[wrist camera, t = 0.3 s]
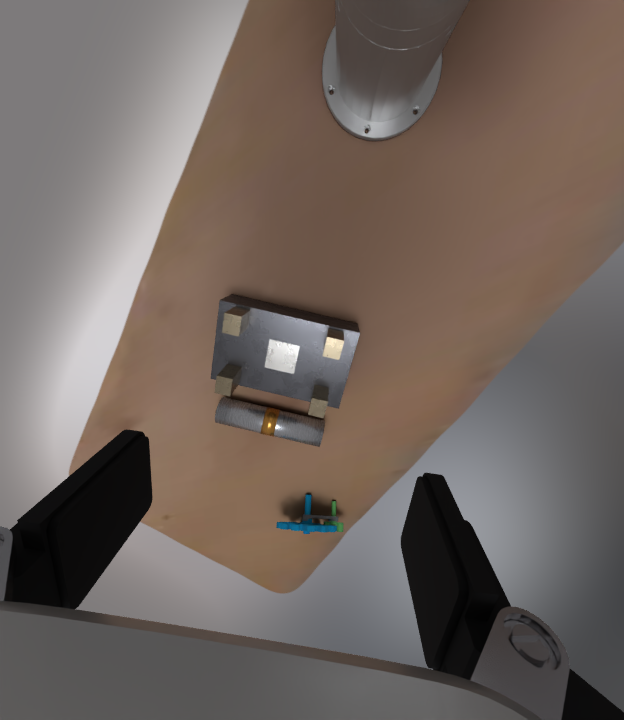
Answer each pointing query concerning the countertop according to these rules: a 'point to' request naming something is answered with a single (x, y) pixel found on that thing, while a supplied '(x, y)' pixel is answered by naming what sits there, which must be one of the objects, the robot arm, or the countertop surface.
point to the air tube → (270, 421)
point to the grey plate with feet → (282, 352)
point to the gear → (312, 527)
